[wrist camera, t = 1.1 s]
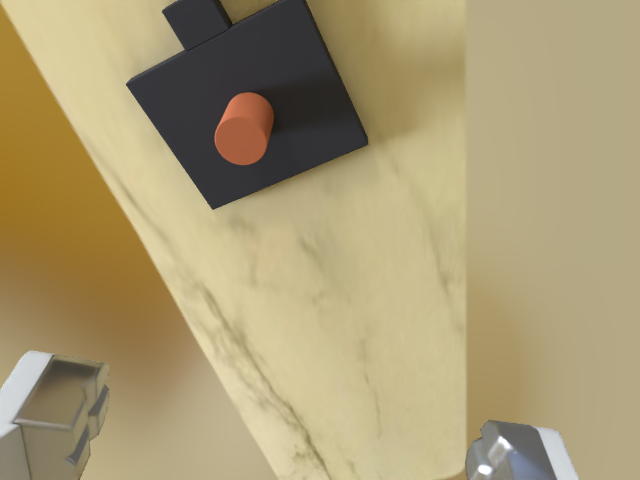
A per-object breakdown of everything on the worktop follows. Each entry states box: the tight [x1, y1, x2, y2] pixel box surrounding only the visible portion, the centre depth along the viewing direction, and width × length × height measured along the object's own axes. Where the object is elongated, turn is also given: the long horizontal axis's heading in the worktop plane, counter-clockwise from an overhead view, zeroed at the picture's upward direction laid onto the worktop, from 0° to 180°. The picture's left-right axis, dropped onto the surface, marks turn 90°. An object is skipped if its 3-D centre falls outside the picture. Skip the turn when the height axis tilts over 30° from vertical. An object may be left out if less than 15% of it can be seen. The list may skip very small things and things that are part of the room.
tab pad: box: [126, 0, 368, 210], centre depth 31 cm, size 12×12×5 cm
